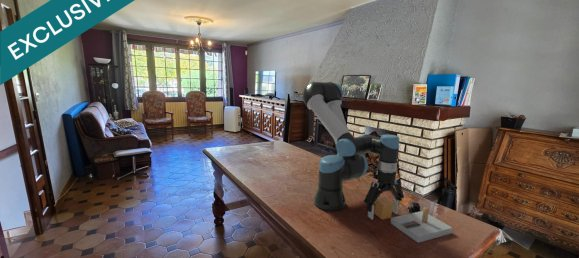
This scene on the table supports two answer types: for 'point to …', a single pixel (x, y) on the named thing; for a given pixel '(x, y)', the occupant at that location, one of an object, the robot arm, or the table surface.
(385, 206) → the cardboard-colored cube
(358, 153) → the robot arm
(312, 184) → the table surface
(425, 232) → the junction plate
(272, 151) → the table surface
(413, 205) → the black power adapter
